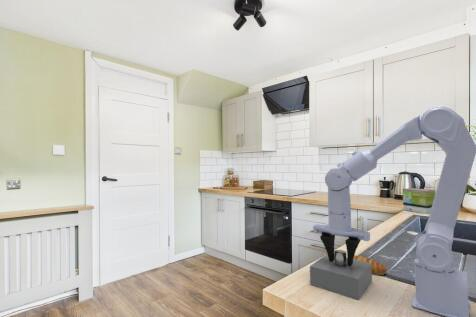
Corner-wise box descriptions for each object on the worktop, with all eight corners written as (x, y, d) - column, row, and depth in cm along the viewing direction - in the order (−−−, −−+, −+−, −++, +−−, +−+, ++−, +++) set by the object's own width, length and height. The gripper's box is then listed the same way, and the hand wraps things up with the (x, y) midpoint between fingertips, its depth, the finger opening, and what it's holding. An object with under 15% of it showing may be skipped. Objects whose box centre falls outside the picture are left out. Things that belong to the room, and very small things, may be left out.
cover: (371, 281, 69) (370, 250, 69) (358, 300, 60) (357, 264, 60) (327, 269, 77) (327, 242, 77) (310, 284, 68) (309, 253, 68)
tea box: (402, 210, 169) (401, 188, 170) (412, 209, 173) (411, 187, 174) (426, 214, 155) (425, 190, 156) (436, 212, 159) (435, 189, 160)
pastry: (388, 271, 76) (387, 258, 76) (385, 279, 70) (384, 265, 70) (354, 264, 81) (354, 252, 81) (349, 271, 76) (349, 258, 76)
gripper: (372, 213, 67) (374, 264, 66) (319, 207, 76) (320, 252, 76) (365, 217, 62) (366, 273, 61) (309, 211, 71) (310, 259, 71)
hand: (340, 262), depth 68 cm, fingers open, 4 cm apart
